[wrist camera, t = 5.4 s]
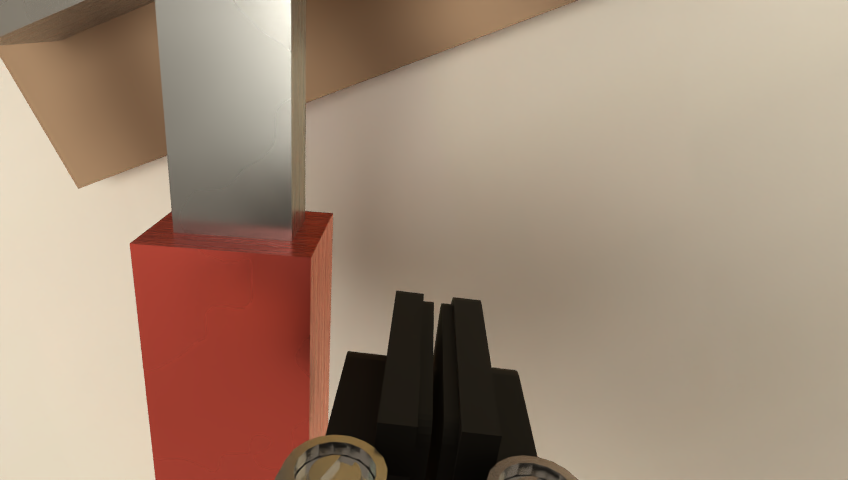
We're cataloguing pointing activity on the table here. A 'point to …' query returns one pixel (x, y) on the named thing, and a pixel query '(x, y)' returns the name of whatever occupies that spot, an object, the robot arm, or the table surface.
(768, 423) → the table surface
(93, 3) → the valve
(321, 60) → the board
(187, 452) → the lever
